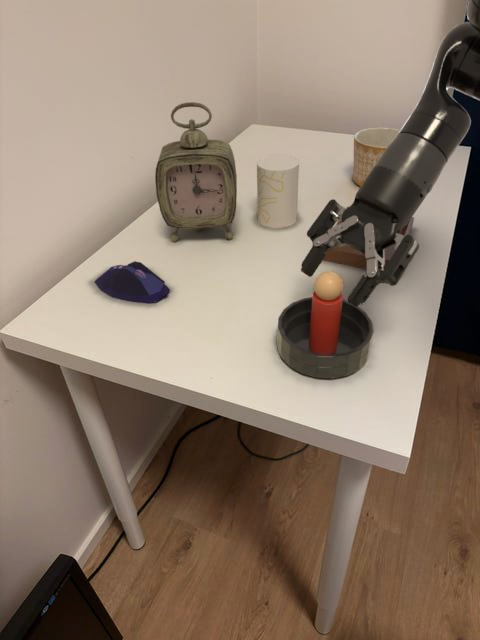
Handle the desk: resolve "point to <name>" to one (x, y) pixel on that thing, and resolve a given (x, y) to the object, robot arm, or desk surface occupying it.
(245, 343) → the desk surface
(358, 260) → the tray
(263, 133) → the desk surface
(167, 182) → the tabletop clock
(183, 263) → the desk surface
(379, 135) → the planter
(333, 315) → the doll
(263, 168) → the white cylinder
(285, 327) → the pan
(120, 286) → the computer mouse
